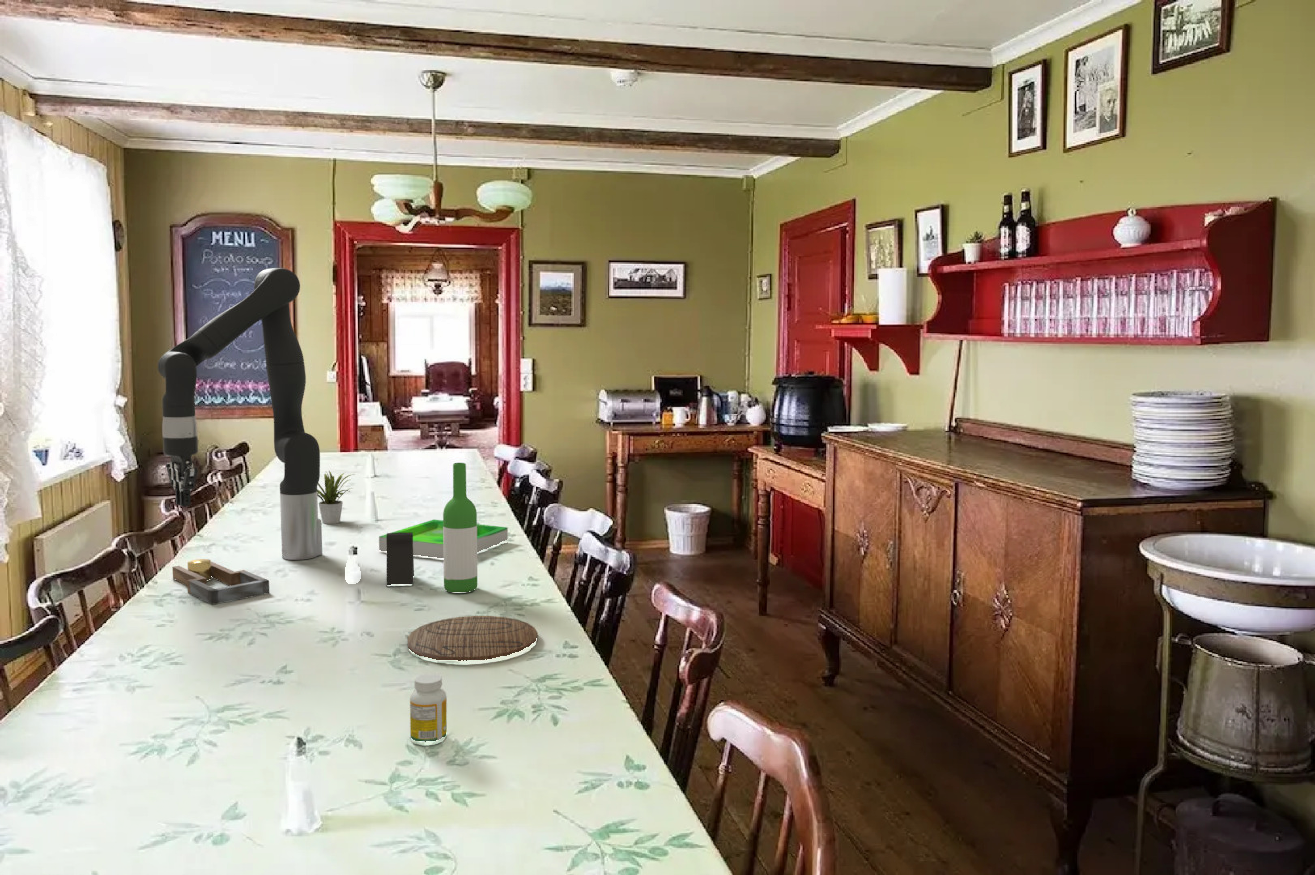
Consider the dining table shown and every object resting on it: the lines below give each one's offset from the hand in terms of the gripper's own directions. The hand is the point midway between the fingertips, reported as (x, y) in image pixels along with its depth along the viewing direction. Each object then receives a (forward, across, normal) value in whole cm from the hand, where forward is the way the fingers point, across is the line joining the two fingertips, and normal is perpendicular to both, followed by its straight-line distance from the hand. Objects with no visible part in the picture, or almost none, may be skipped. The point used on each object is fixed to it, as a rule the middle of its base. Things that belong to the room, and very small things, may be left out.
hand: (183, 505), depth 233 cm
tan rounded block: (+17, -8, 0) cm, 19 cm away
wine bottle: (+17, -59, -39) cm, 73 cm away
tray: (+18, -21, -61) cm, 67 cm away
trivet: (+18, -91, -19) cm, 95 cm away
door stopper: (+17, -43, -33) cm, 57 cm away
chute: (+17, -17, 0) cm, 24 cm away
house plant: (+17, +30, -56) cm, 66 cm away
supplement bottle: (+17, -122, +12) cm, 124 cm away
